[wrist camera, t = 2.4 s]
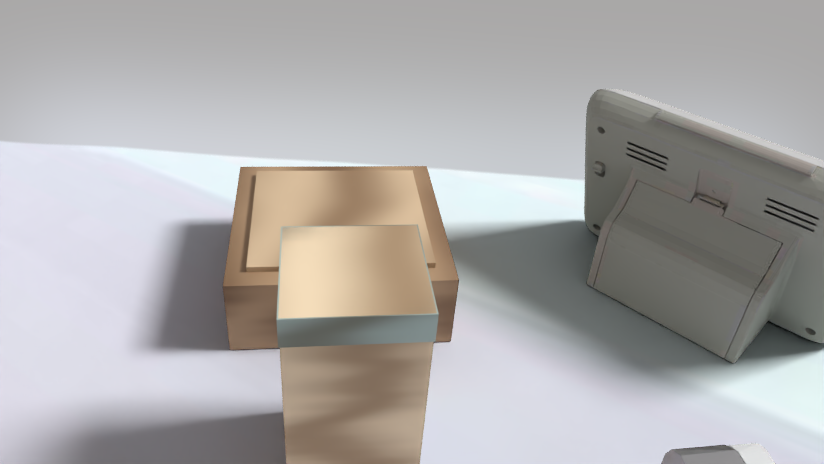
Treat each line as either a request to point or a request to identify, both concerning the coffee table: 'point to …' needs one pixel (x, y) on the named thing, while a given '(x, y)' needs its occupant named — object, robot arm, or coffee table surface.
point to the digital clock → (702, 223)
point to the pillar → (354, 343)
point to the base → (323, 206)
